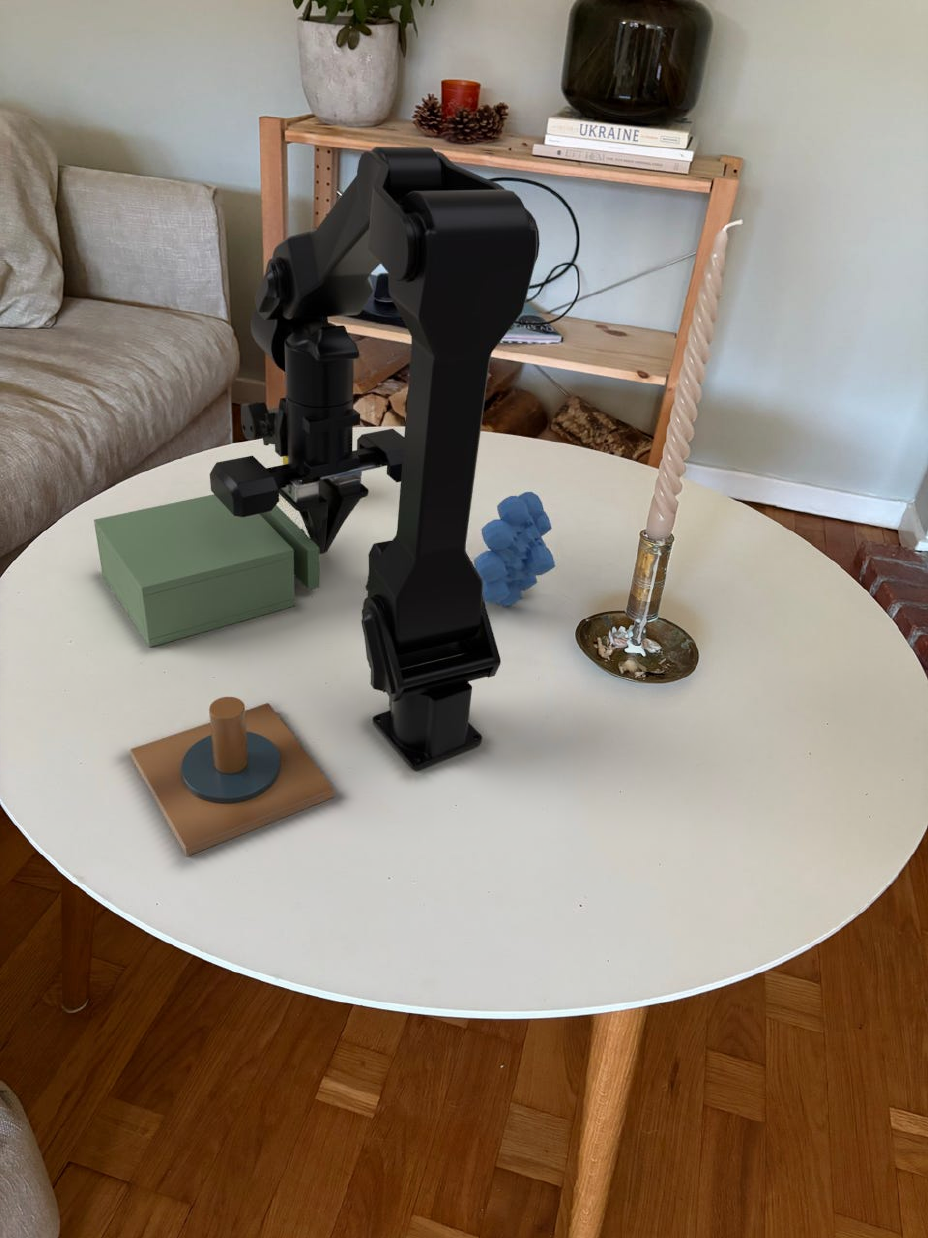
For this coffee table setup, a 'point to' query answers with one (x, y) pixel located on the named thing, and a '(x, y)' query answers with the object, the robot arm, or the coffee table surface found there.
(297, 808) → the wooden peg base
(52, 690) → the coffee table surface
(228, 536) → the cabinet
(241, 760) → the pot lid
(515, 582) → the grapes
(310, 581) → the drawer
